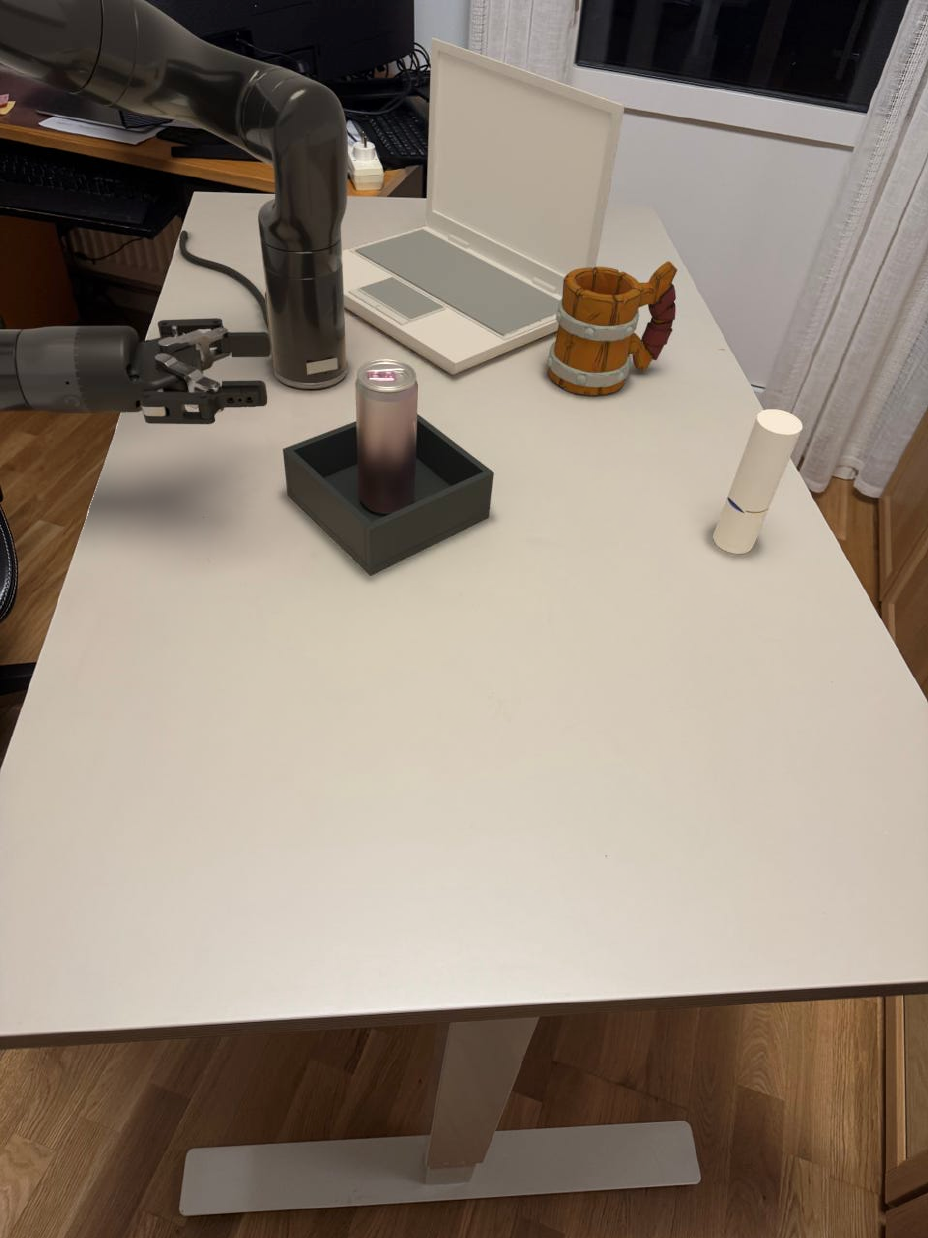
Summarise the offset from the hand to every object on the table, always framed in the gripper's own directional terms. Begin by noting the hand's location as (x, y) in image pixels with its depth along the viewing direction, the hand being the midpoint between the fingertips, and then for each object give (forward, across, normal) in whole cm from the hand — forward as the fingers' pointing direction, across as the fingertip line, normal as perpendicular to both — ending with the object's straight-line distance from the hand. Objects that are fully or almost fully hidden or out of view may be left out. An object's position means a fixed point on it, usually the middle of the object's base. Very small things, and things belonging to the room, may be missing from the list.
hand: (268, 367), depth 78 cm
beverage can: (+11, 0, +16) cm, 19 cm away
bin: (+11, 0, +17) cm, 20 cm away
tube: (+48, -8, +17) cm, 51 cm away
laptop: (+22, +47, +17) cm, 54 cm away
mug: (+41, +26, +17) cm, 52 cm away
